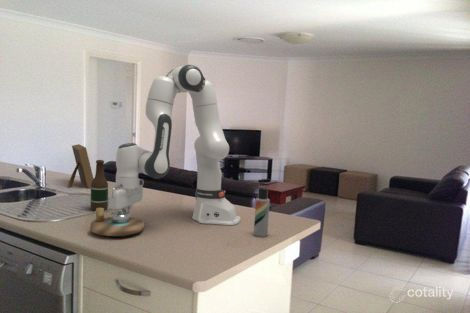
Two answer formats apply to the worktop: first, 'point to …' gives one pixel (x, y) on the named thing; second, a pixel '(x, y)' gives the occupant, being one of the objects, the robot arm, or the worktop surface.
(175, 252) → the worktop surface
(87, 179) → the photo frame
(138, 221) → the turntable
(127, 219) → the cover
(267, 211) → the lotion bottle
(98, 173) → the beer bottle
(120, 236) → the turntable base
